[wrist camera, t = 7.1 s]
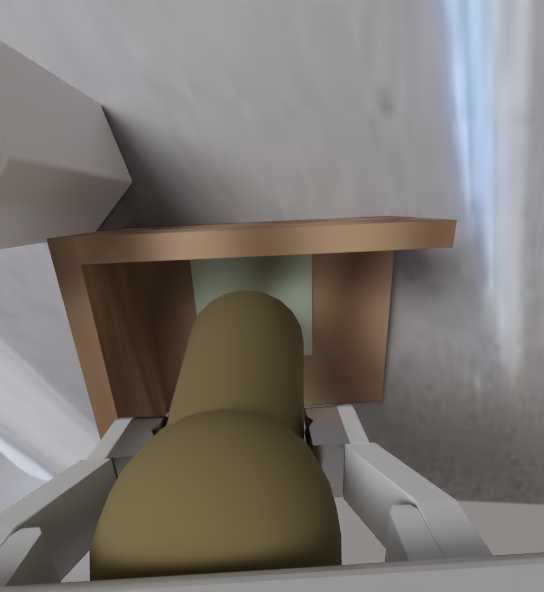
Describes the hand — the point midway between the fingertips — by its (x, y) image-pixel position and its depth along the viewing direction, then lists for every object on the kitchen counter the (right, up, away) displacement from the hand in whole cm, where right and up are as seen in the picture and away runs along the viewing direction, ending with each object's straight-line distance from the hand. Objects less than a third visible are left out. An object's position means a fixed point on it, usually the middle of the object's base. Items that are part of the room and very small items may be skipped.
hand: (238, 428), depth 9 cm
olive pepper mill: (0, +2, +6) cm, 7 cm away
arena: (0, +2, +12) cm, 12 cm away
